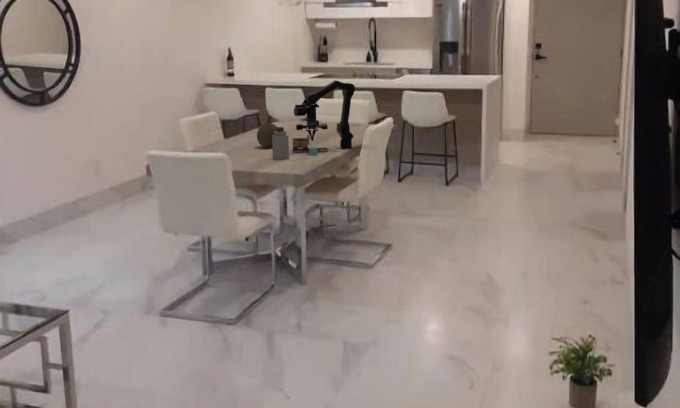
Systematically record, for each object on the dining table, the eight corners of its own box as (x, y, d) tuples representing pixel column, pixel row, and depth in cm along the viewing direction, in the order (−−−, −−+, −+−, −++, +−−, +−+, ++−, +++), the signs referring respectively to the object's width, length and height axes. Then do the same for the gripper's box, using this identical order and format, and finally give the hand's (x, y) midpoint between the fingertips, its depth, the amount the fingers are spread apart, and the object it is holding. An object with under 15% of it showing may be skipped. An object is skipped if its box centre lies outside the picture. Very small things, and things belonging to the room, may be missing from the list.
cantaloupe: (276, 149, 461) (275, 125, 457) (254, 149, 463) (253, 125, 460) (282, 145, 474) (282, 122, 470) (261, 145, 477) (260, 121, 473)
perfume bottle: (279, 160, 428) (277, 128, 423) (272, 158, 433) (271, 127, 429) (289, 158, 432) (288, 127, 427) (282, 156, 437) (281, 126, 432)
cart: (309, 147, 460) (308, 134, 458) (309, 150, 448) (309, 137, 447) (292, 147, 459) (292, 135, 458) (292, 151, 448) (292, 138, 446)
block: (317, 154, 444) (316, 146, 443) (317, 155, 440) (317, 148, 439) (309, 154, 444) (309, 146, 443) (309, 155, 440) (309, 148, 439)
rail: (327, 149, 461) (327, 147, 460) (328, 152, 450) (328, 150, 450) (292, 149, 459) (292, 148, 459) (293, 153, 449) (292, 151, 448)
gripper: (295, 117, 441) (296, 143, 445) (327, 116, 442) (328, 142, 446) (295, 114, 452) (296, 140, 456) (326, 114, 453) (327, 139, 457)
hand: (312, 141), depth 453 cm, fingers closed
